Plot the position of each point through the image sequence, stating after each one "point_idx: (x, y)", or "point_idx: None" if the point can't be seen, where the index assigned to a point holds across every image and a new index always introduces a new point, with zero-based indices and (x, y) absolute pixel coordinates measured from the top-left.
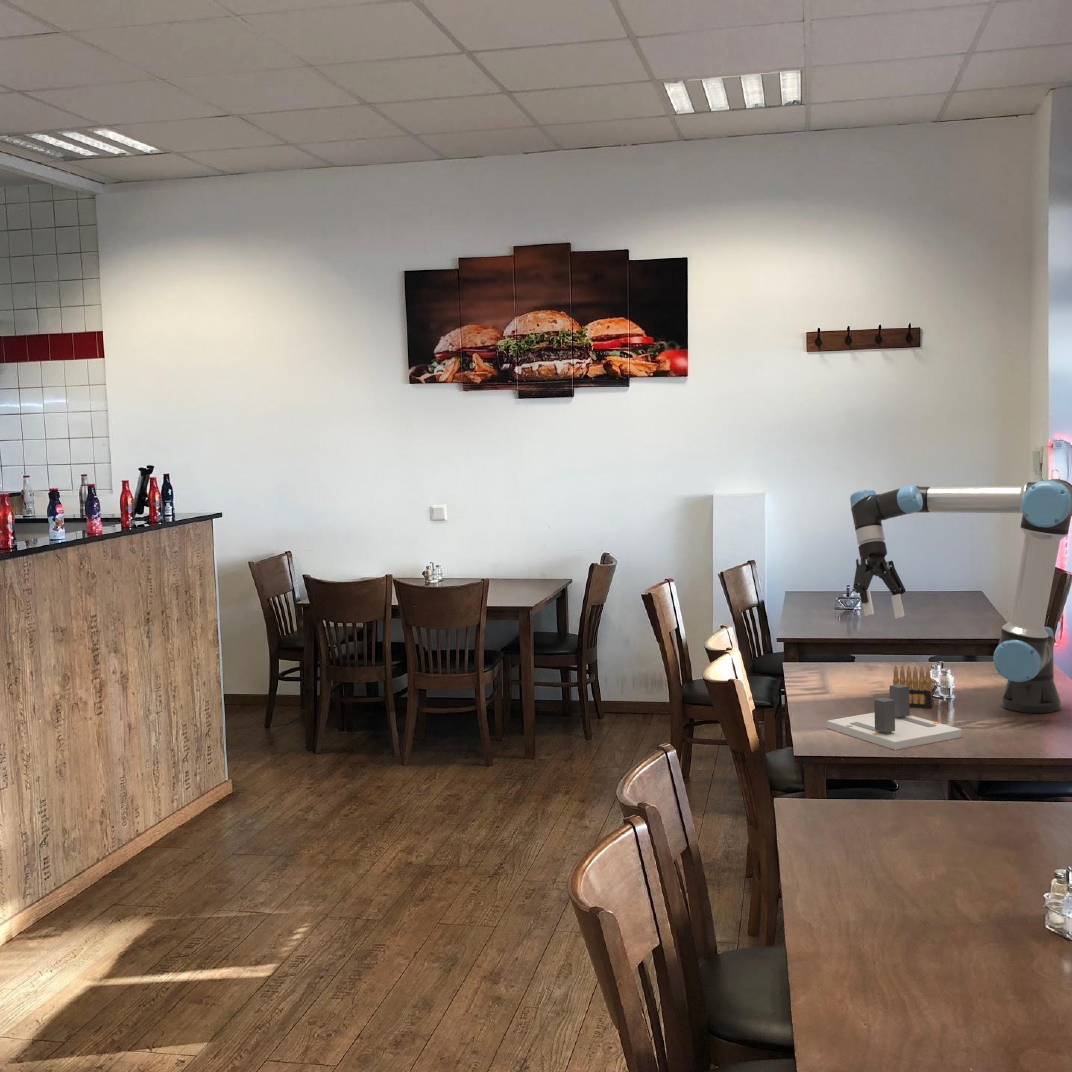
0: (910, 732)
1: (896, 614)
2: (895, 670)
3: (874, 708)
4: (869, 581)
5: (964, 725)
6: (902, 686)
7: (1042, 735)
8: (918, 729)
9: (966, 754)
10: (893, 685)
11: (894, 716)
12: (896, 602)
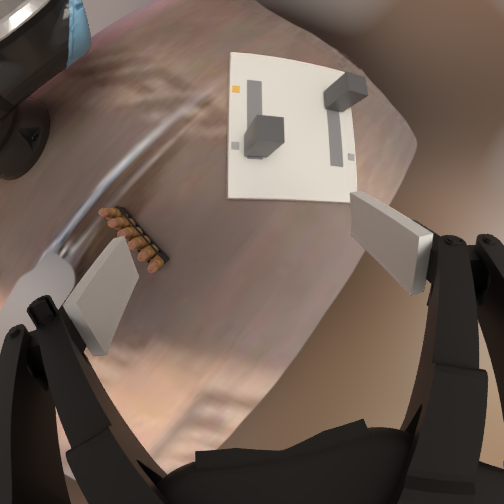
0: (302, 82)
1: (130, 276)
2: (155, 265)
3: (359, 100)
4: (451, 284)
5: (171, 94)
6: (268, 120)
7: (140, 23)
8: (282, 84)
9: (283, 22)
10: (277, 138)
11: (334, 82)
12: (107, 298)
